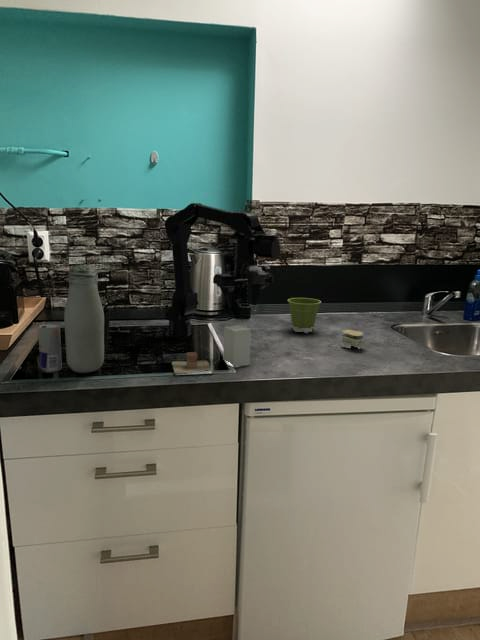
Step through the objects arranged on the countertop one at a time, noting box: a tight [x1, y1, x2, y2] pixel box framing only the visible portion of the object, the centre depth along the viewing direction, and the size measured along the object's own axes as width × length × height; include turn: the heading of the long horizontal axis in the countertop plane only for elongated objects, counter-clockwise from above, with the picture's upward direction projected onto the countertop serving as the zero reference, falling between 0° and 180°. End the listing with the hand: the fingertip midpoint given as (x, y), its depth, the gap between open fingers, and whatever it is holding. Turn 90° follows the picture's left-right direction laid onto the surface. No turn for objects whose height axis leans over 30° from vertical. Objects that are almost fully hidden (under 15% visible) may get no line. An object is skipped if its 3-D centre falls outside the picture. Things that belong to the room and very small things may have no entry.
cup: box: [103, 308, 111, 353], centre depth 155 cm, size 8×8×12 cm
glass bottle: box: [63, 265, 105, 374], centre depth 134 cm, size 10×10×28 cm
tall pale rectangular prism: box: [222, 324, 252, 365], centre depth 146 cm, size 5×5×11 cm
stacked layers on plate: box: [340, 329, 364, 346], centre depth 166 cm, size 10×9×6 cm
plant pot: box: [287, 297, 322, 328], centre depth 184 cm, size 12×12×11 cm
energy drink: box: [37, 323, 63, 374], centre depth 137 cm, size 5×5×12 cm
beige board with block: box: [171, 351, 213, 376], centre depth 141 cm, size 10×10×4 cm
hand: (242, 306), depth 159 cm, fingers open, 9 cm apart
